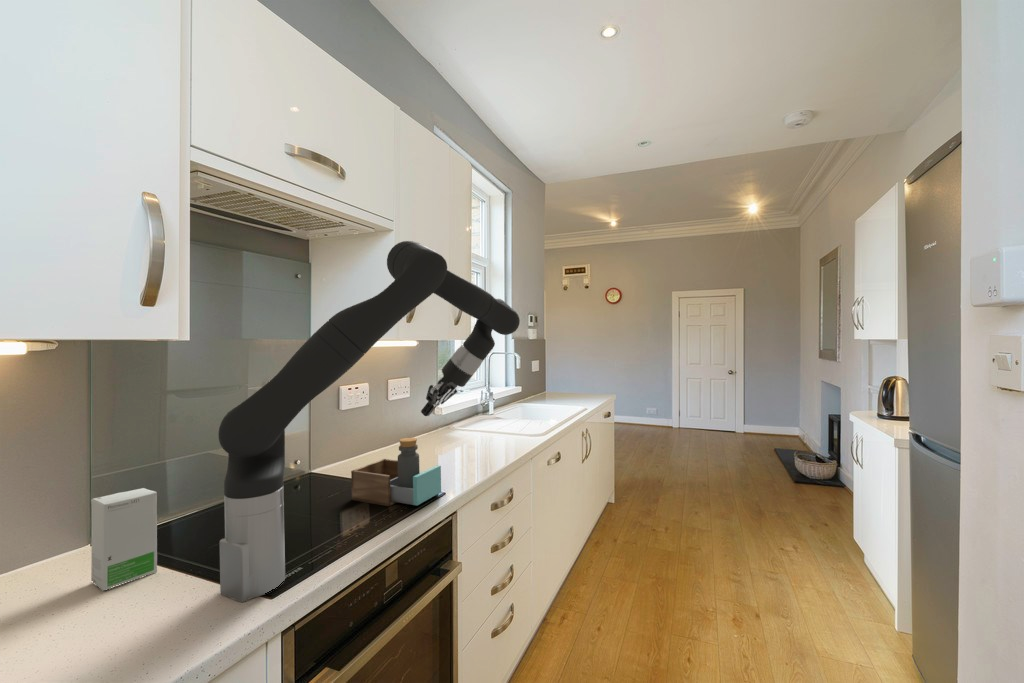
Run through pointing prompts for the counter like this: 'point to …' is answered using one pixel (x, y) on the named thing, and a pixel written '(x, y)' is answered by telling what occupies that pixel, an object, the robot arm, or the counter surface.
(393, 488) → the teal drawer
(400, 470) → the bottle
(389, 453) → the counter surface
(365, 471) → the housing
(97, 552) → the skincare box
